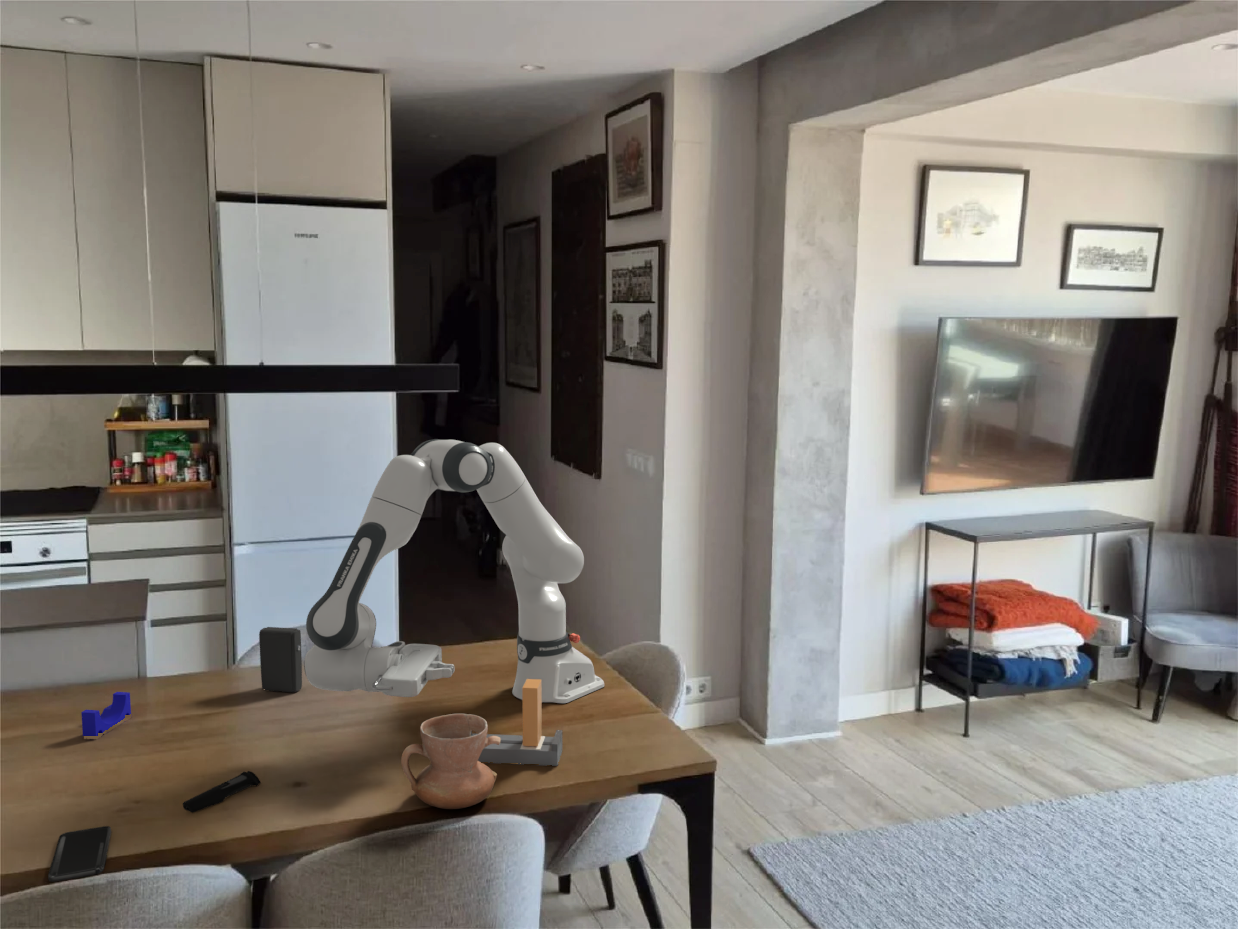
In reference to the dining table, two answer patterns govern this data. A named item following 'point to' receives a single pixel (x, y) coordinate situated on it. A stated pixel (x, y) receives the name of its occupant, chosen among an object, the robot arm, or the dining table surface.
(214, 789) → the electric trimmer
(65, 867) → the phone
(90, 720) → the blue cradle holder
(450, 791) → the ceramic jug
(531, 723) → the switch tab
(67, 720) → the dining table surface
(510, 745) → the switch track
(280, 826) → the dining table surface
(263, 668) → the dark grey upright block
